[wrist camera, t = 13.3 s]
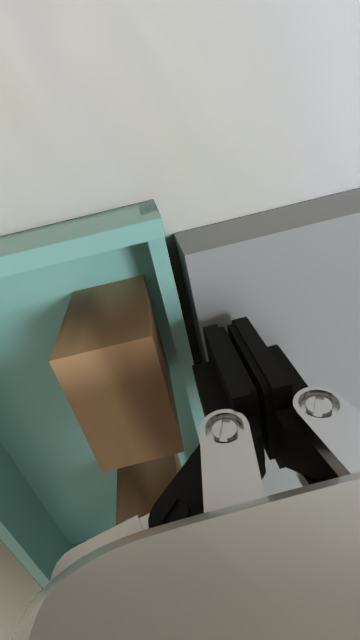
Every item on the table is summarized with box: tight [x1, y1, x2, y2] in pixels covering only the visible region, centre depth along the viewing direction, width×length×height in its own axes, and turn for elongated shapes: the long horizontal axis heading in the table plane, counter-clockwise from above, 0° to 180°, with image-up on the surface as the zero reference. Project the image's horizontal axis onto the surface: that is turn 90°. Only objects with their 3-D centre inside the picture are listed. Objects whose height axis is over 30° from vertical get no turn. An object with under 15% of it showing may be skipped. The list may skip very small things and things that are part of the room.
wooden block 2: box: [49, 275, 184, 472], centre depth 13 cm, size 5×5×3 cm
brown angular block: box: [116, 454, 182, 526], centre depth 18 cm, size 5×5×3 cm
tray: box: [0, 200, 205, 588], centre depth 17 cm, size 11×20×4 cm, turn 12°
